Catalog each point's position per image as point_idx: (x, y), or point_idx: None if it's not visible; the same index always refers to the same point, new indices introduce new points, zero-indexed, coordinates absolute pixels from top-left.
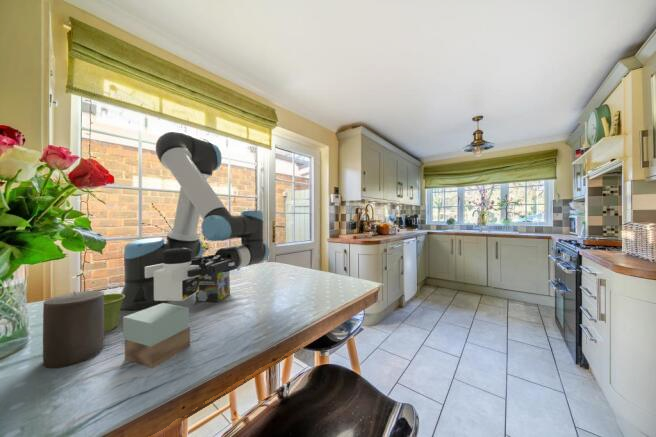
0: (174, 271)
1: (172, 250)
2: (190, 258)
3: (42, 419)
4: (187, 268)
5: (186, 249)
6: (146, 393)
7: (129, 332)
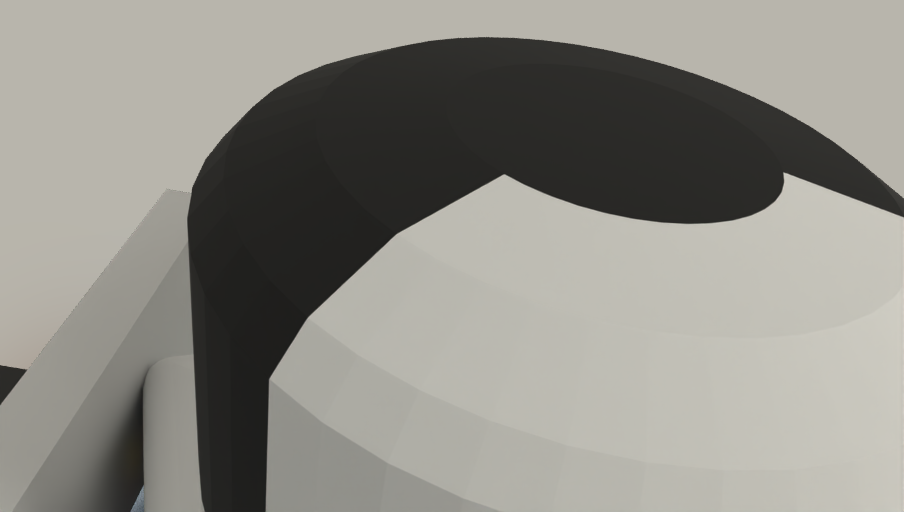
0: (161, 202)
1: (496, 40)
2: (204, 470)
3: None
4: (58, 338)
5: (307, 159)
6: (139, 501)
7: None
